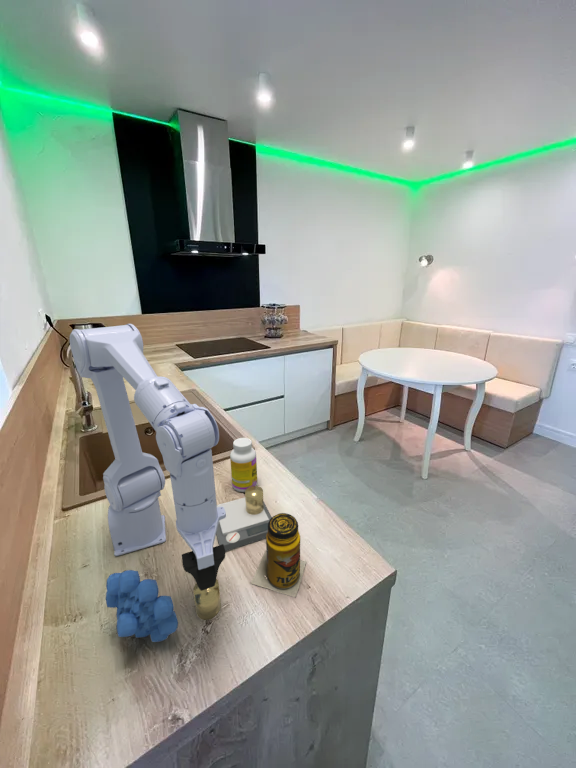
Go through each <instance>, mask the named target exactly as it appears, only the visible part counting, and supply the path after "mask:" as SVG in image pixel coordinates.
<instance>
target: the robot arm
mask: <svg viewBox="0 0 576 768" xmlns="http://www.w3.org/2000/svg"><path fill="white" fill-rule="evenodd" d="M69 346H70V351H71V354H72V358H73V360H74V365H75V368H76V371H77V373H78V374H79V377H80V378H85V379H86V378H87V379H91V381H92V383H93V386H94V388H95V390H96V394H97V398H98V401H99V404H100V409H101V413H102V416H103V420H104V424H105V427H106V430H107V433H108V438H109V441H110V445H111V449H112V451H113V455H114V458H115V459H114V460H113V462H111V464H110V465H109V466H108V467H107V469H106V470H104V472H103V473H102V475H103V477H102V480H103V483H104V493H105V496H106V499H107V501H108V503H109V506H108V510H107V522H108V524H107V525H108V529H109V533H110V538H111V542H112V547H113V550H114V552H113V553H114V554H113V555H114V557H118V556H121V555H124V554H129V553H132V552H135V551H138V550H141V549H145V548H148V547H153V546H156V545H158V544H159V545H160V544H163V543H164V542H166V541H167V534H166V517H165V515H164V514H162V512H161V507H160V501H159V497H161V496H162V494H161V491H162V490H164V489H165V485H166V477H165V475H164V472H163V469H162V468H161V465H160V463H159V459H158V458H157V457H155V456H154V455H153V454H151V453H146V452H143V450H142V446H141V443H140V439H139V435H138V430H137V427H136V423H135V419H134V416H133V412H132V408H131V403H130V400H129V396H128V393H127V388H126V385H125V381H126V382H127V383H128V384H129V385H130V386H131V387H132V388H133V390H135V392H134V394H133V401H134V404H135V405H136V406H137V408H138V409H139V410H140V412H141V413H142V415H143V416H144V418H146V420H147V421H148V422H149V424H150V425H151V427H152V429H153V430H154V431H155V434H156V435H155V441H156V443H157V447H158V450H159V451H160V452H159V453H161V455H162V460H163V464H164V467H165V470H166V471H167V472H169V477H170V482H171V489H172V491H171V492H172V497H173V503H174V511H175V517H176V520H175V527H176V530H177V533H178V534H179V536H180V537H182V539H183V541H184V542H185V543H186V544H187V546H188V547H189V548H190V550H191V551H188V552H185V553H182V554H181V563H182V567H183V570H184V572H185V573H187V574H190V576H192V578H193V579H194V581H195V584H196V583H197V585H198V587H199V589H200V590H201V591H202V590H205V589H208V588H211V587H213V586H215V583H216V579H218V572H219V569H220V567H221V564H222V562H223V561H224V560H225V559H226V551H225V548H224V544H222V545H219V544H218V545H216V546H215V540H216V537H217V535H216V532H217V528H218V523H219V521H220V520H221V519H224V518H225V517H226V512H225V509H224V507H217V505H218V503H217V495H216V484H215V483H216V482H215V472H214V471H215V470H214V461H213V460H214V459H213V452H212V451H213V450H212V448H213V447H216V446H217V445H218V443H219V441H220V430H219V426H218V423H217V421H216V419H215V417H214V416H213V414H212V413H211V412H210V410H209V409H208V408H206V407H204V406H199V405H197V403H193V404H192V403H190V401H189V400H188V399H187V398H186V397H185V396H184V395H183V394H182V392H181V391H180V390H179V388H177V386H176V385H175V384H174V382H173V381H171V379H170V378H168V377H167V376H166V377H165V376H160V375H159V376H158V375H157V373H156V371H155V370H154V368H153V367H152V366H151V365H152V364H150V362H149V361H148V359H147V357H146V355H144V340H143V336H142V334H141V332H140V330H139V329H138V328H137V326H135V325H134V324H133V323H127V324H124V325H123V324H121V325H115V326H113V325H112V326H103V327H93V328H85V329H84V328H82V329H80V328H75V329H73V330H72V331H71V332H70V334H69ZM124 380H125V381H124Z"/></svg>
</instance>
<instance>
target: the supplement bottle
mask: <svg viewBox="0 0 576 768" xmlns="http://www.w3.org/2000/svg"><path fill="white" fill-rule="evenodd" d="M232 447H233V449H232V450H231V451H230V454H229V457H230V459H229V460H230V472H231V476H230V477H231V484H232V488H233V489H234V490H235V491H236V492H240V493H245V490H246V489H247V488H248V487H251V486H258V466H257V465H258V463H257V451H256V450H255V448H253V442H252V440H251V439H250V438H248V437H239V438H236V439H235V440H233V444H232Z"/></svg>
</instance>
